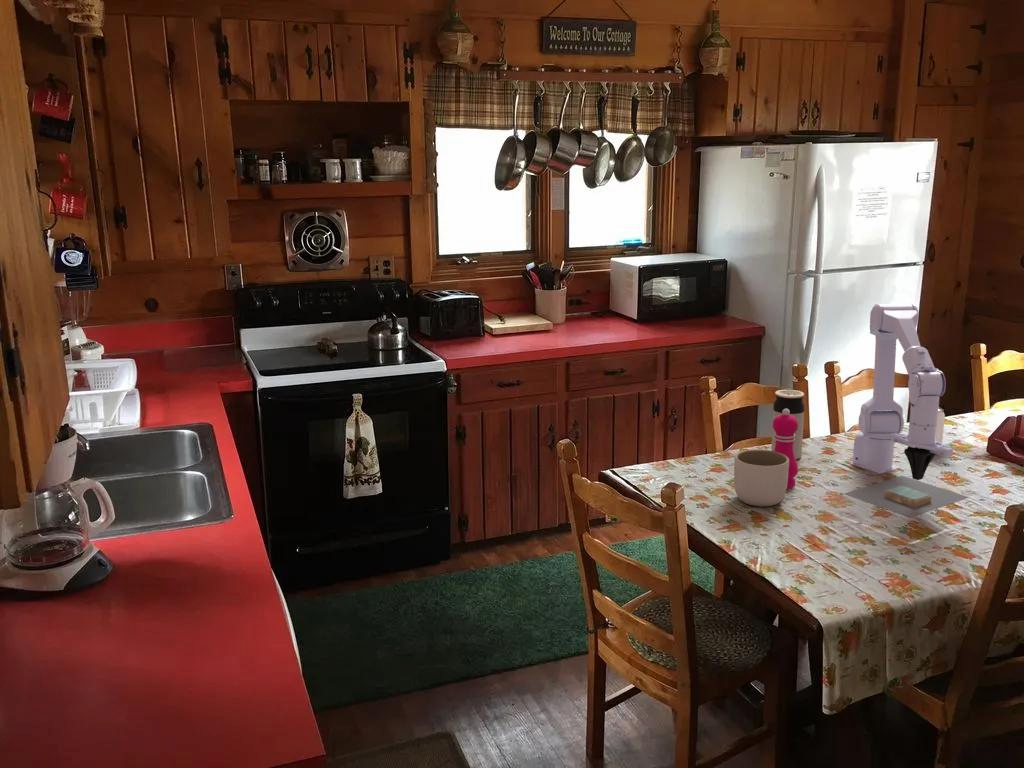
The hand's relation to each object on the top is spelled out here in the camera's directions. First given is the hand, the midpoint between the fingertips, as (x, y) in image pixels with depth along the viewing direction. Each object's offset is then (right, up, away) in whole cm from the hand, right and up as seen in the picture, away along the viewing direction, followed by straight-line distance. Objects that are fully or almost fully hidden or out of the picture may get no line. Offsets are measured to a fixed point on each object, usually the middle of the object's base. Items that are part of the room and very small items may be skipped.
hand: (917, 478), depth 206 cm
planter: (-35, -6, +6) cm, 36 cm away
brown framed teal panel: (-3, -4, +6) cm, 8 cm away
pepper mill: (-27, -4, +15) cm, 31 cm away
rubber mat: (0, -5, +6) cm, 8 cm away
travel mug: (-19, +2, +37) cm, 42 cm away
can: (+20, +3, +38) cm, 44 cm away
